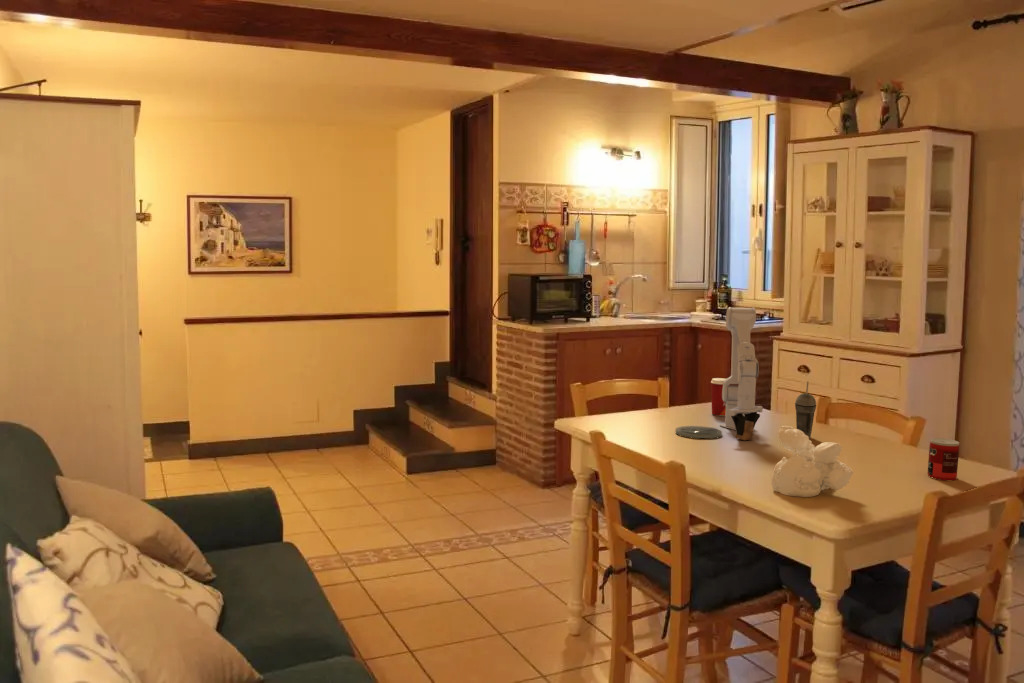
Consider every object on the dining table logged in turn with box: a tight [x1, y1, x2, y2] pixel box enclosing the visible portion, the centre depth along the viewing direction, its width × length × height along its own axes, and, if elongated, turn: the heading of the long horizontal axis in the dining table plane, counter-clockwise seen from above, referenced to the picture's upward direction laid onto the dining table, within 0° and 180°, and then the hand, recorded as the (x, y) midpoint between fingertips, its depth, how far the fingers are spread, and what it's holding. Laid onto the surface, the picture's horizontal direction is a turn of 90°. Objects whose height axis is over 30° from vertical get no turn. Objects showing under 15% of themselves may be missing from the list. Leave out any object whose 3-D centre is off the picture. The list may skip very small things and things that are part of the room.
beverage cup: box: [794, 381, 817, 439], centre depth 318 cm, size 7×7×20 cm
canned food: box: [927, 437, 960, 481], centre depth 269 cm, size 8×8×11 cm
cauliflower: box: [771, 424, 854, 498], centre depth 251 cm, size 19×20×20 cm
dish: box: [675, 425, 723, 439], centre depth 321 cm, size 16×16×1 cm
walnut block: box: [735, 420, 754, 441], centre depth 313 cm, size 4×4×6 cm
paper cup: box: [710, 377, 731, 416], centre depth 356 cm, size 8×8×14 cm
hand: (744, 434), depth 313 cm, fingers closed on walnut block, 4 cm apart
